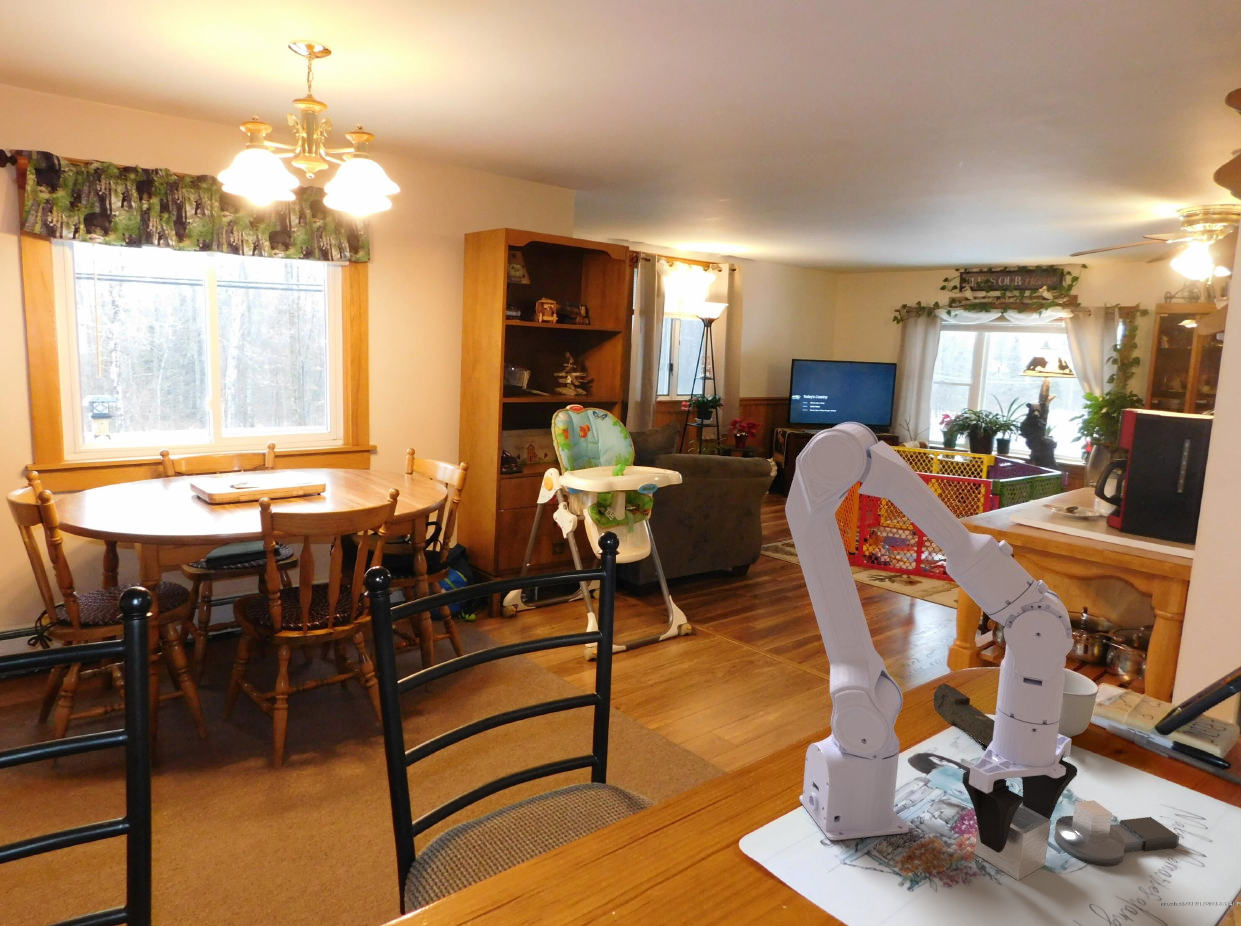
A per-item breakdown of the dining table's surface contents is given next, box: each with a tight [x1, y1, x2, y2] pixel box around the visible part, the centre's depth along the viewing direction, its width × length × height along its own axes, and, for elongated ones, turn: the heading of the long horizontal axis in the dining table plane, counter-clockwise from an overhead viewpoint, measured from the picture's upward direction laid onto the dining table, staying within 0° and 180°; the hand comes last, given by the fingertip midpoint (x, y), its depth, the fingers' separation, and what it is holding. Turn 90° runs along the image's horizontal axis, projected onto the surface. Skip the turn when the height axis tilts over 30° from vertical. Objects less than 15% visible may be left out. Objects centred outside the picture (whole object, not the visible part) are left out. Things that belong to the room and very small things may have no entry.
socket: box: [974, 804, 1052, 881], centre depth 82 cm, size 5×5×5 cm
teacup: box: [1058, 667, 1100, 739], centre depth 109 cm, size 14×11×8 cm
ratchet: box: [1053, 800, 1180, 868], centre depth 85 cm, size 13×6×5 cm, turn 102°
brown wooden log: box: [932, 683, 995, 748], centre depth 108 cm, size 19×4×5 cm, turn 12°
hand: (1013, 835), depth 82 cm, fingers open, 7 cm apart
